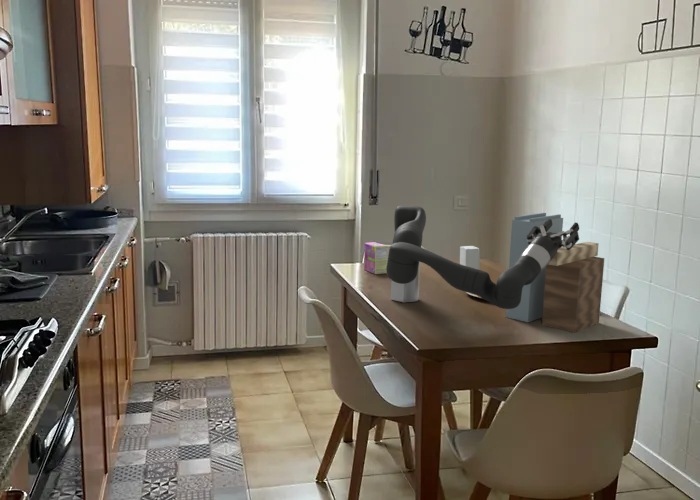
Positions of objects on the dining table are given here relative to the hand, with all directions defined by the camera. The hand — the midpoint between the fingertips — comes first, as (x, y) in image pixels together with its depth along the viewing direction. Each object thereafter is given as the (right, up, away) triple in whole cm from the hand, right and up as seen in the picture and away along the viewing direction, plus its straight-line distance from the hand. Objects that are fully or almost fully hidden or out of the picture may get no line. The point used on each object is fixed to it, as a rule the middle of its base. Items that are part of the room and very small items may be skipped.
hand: (563, 223), depth 209 cm
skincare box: (-17, -22, +66) cm, 71 cm away
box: (-53, -17, +86) cm, 103 cm away
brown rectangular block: (+5, -11, +7) cm, 14 cm away
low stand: (+6, -31, +12) cm, 34 cm away
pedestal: (-4, -29, +22) cm, 37 cm away
